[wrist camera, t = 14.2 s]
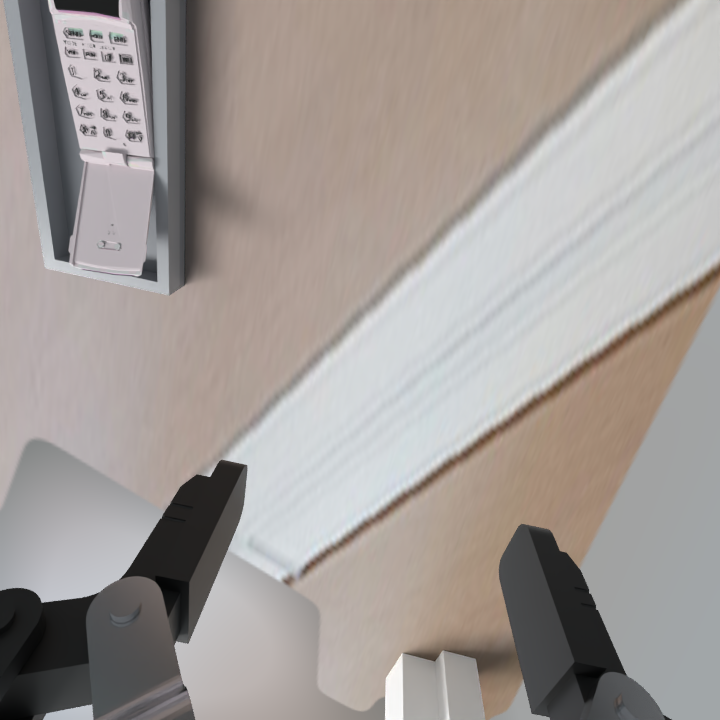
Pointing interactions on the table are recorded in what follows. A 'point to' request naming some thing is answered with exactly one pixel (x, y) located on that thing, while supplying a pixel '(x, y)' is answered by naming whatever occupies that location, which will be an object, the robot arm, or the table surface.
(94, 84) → the mobile phone
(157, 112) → the phone dock
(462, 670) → the corner bracket
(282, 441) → the table surface
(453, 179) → the table surface
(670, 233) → the table surface
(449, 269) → the table surface
